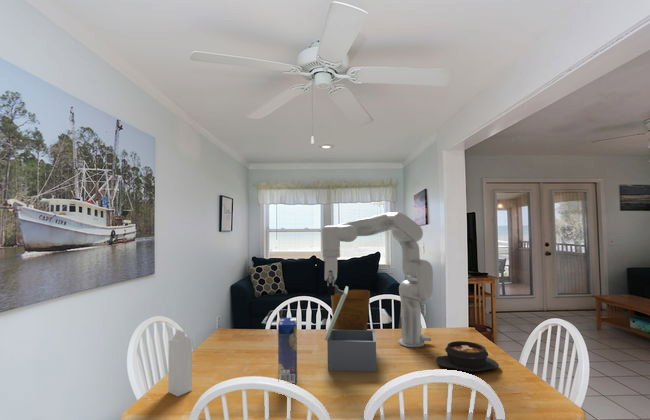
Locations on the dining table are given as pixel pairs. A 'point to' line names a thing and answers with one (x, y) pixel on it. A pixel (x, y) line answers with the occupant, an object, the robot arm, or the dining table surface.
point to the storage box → (352, 350)
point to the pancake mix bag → (352, 310)
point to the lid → (344, 294)
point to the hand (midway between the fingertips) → (331, 293)
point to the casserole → (466, 357)
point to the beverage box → (287, 349)
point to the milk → (180, 364)
